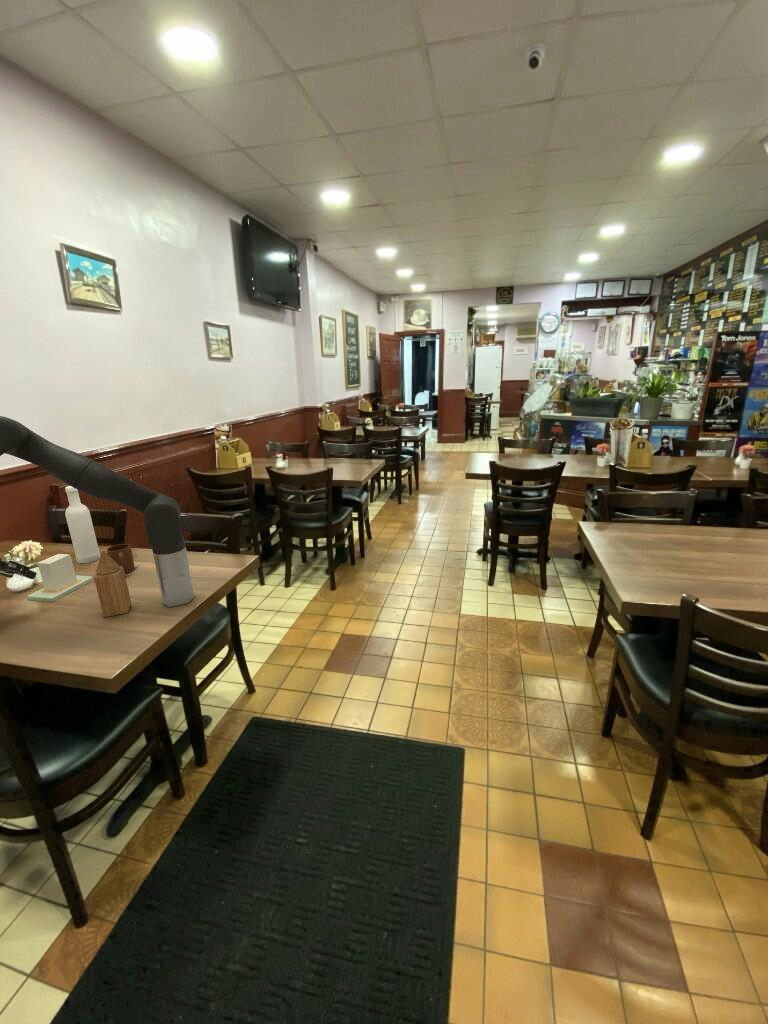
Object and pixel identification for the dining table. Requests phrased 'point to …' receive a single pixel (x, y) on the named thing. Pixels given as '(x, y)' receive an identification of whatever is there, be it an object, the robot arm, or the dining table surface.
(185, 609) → the dining table surface
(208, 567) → the dining table surface
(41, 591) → the header board
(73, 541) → the bottle
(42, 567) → the housing
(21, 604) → the dining table surface
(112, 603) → the decorative item
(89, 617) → the dining table surface
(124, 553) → the mug
